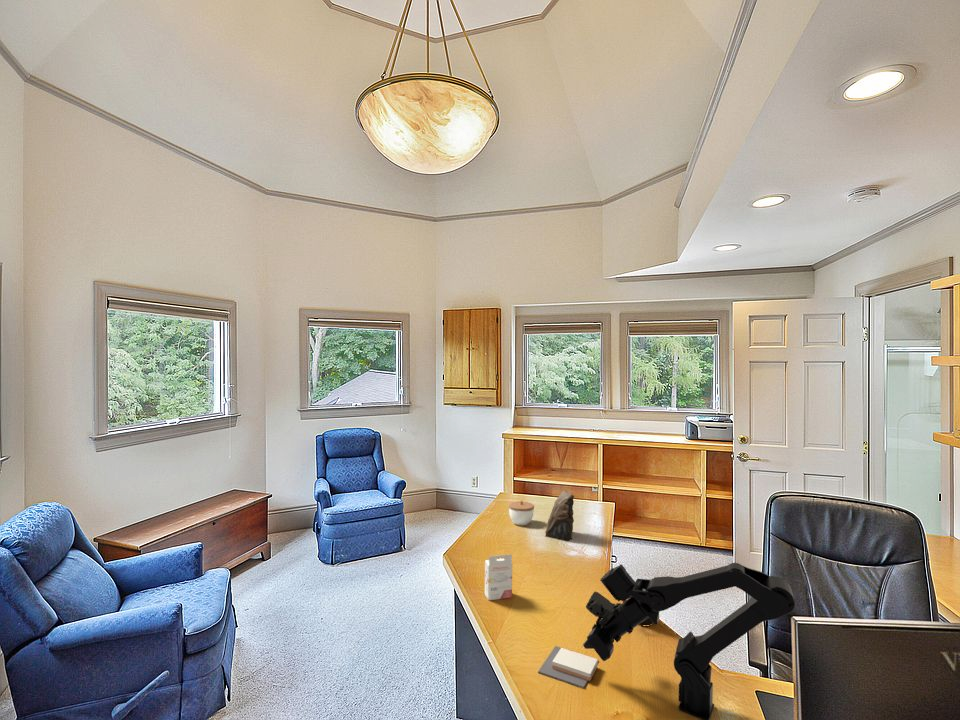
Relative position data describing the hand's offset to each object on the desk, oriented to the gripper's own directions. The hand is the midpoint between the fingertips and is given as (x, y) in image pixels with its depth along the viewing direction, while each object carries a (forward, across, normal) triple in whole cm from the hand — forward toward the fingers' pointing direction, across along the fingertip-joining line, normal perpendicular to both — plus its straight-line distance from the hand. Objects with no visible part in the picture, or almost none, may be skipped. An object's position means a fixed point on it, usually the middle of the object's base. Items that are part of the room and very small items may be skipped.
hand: (584, 646), depth 126 cm
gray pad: (+8, 0, +2) cm, 8 cm away
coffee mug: (0, -33, +10) cm, 35 cm away
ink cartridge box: (+31, -25, -22) cm, 46 cm away
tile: (+2, 0, +6) cm, 6 cm away
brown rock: (+33, -92, -23) cm, 100 cm away
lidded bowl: (+48, -99, -39) cm, 117 cm away
